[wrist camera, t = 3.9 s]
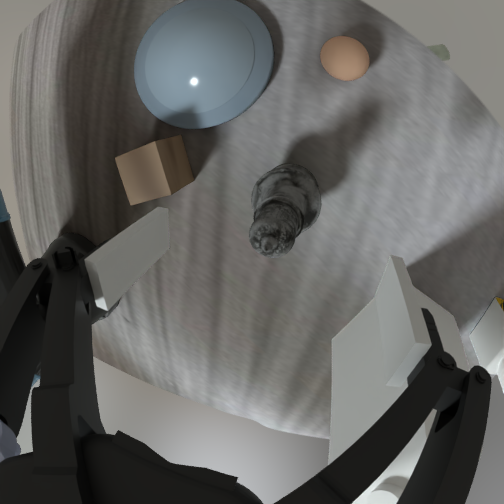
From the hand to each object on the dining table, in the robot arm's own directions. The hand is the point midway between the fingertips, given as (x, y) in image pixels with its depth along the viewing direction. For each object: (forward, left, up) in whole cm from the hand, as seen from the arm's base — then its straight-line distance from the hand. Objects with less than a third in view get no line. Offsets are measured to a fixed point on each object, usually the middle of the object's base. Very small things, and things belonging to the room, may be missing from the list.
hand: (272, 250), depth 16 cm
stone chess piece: (0, 0, -12) cm, 12 cm away
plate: (-10, +12, -12) cm, 20 cm away
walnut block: (-13, +1, -12) cm, 18 cm away
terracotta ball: (+3, +13, -10) cm, 17 cm away
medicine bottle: (+32, -10, -12) cm, 35 cm away
